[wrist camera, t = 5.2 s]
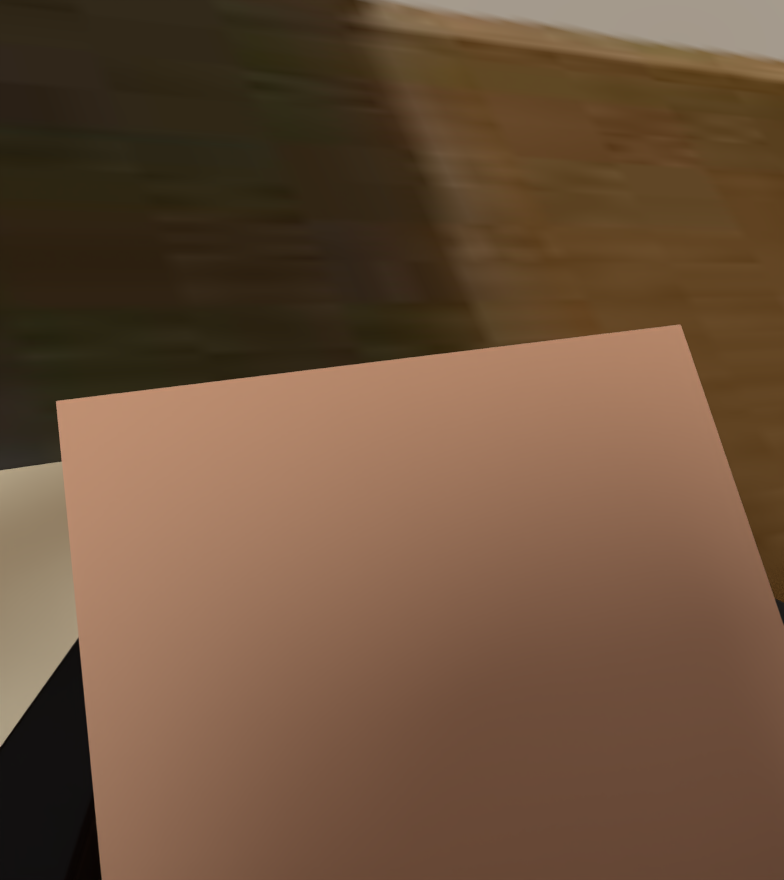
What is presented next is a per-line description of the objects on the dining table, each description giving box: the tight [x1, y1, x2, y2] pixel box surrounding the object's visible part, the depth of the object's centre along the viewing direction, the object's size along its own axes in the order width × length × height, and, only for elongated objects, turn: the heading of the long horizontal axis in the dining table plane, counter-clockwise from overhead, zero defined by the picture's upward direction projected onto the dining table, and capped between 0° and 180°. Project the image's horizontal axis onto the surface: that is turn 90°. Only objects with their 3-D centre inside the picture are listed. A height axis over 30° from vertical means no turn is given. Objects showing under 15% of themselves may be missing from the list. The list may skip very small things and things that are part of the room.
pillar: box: [56, 325, 784, 880], centre depth 9 cm, size 5×5×10 cm
